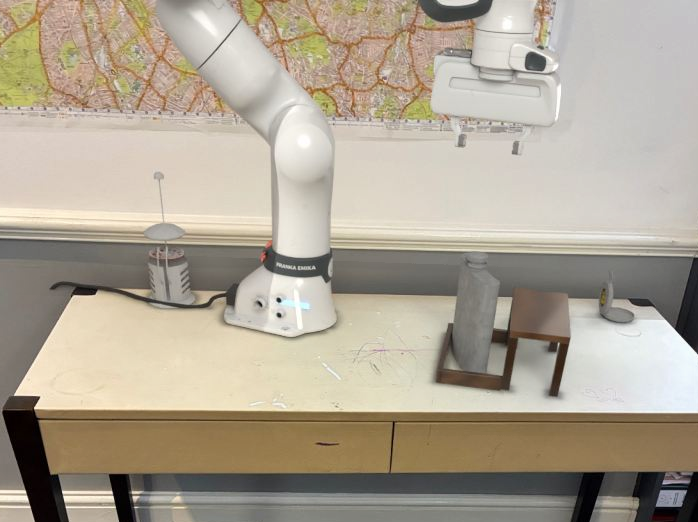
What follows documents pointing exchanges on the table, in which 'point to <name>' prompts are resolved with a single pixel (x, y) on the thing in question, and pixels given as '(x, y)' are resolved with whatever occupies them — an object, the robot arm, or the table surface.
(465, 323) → the hip flask
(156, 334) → the table surface
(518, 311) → the shelf stand
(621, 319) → the pocket watch
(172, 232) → the french press
